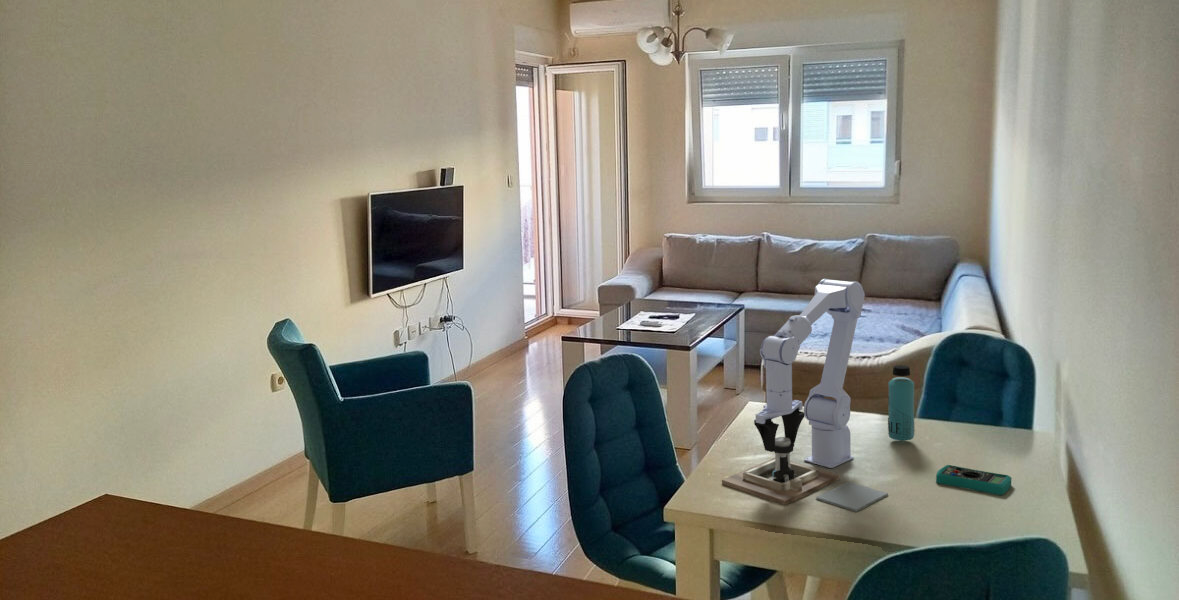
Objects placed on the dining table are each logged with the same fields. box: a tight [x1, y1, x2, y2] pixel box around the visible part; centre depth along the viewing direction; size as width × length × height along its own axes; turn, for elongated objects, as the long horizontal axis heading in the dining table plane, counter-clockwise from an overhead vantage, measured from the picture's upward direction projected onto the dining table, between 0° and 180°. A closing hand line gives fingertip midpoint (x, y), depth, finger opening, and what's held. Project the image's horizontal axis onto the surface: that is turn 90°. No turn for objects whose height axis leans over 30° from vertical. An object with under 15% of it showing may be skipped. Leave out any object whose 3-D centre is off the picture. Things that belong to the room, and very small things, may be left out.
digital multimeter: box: [935, 464, 1012, 496], centre depth 203 cm, size 7×15×3 cm, turn 51°
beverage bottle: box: [887, 364, 916, 442], centre depth 230 cm, size 6×7×20 cm
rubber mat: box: [816, 481, 889, 513], centre depth 199 cm, size 12×10×1 cm
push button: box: [767, 436, 795, 483], centre depth 209 cm, size 7×5×10 cm
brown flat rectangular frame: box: [721, 457, 841, 506], centre depth 210 cm, size 20×18×3 cm
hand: (779, 446), depth 209 cm, fingers open, 7 cm apart
